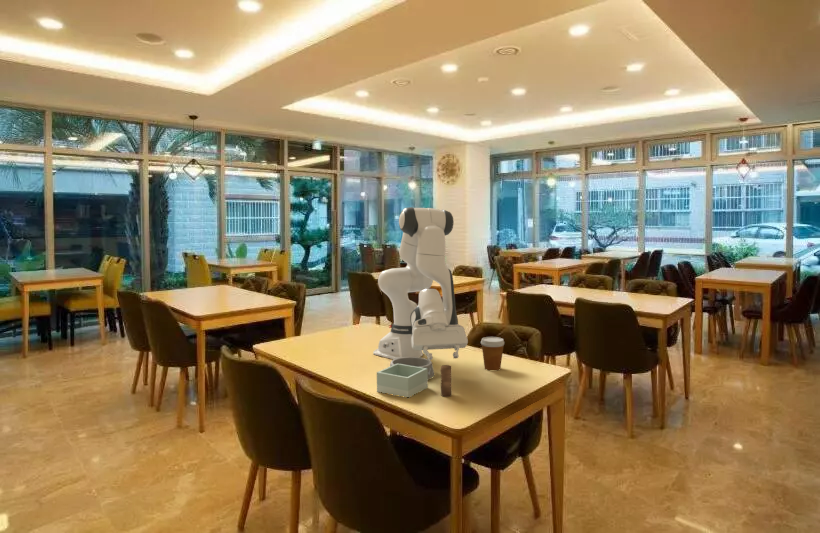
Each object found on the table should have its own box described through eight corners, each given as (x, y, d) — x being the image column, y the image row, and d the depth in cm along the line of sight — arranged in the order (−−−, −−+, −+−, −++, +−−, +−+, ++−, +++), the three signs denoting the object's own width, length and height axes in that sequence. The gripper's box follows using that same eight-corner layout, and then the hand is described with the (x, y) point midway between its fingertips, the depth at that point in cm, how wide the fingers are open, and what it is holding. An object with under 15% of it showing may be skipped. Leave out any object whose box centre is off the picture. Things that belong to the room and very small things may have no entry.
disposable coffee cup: (486, 373, 205) (486, 342, 204) (476, 366, 214) (476, 337, 213) (508, 370, 208) (508, 341, 206) (498, 364, 217) (498, 335, 216)
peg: (439, 395, 180) (438, 367, 179) (444, 392, 183) (444, 364, 182) (448, 397, 178) (448, 368, 177) (453, 394, 181) (453, 366, 180)
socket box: (376, 391, 184) (376, 372, 184) (397, 381, 195) (397, 363, 195) (408, 398, 177) (407, 378, 177) (427, 387, 188) (427, 368, 188)
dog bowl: (407, 366, 217) (407, 353, 216) (443, 374, 205) (443, 360, 205) (379, 376, 204) (378, 362, 203) (416, 385, 192) (415, 370, 192)
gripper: (461, 329, 196) (469, 361, 188) (407, 331, 192) (413, 364, 183) (465, 319, 192) (473, 351, 183) (410, 321, 187) (416, 355, 178)
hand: (443, 358), depth 183 cm, fingers open, 8 cm apart
